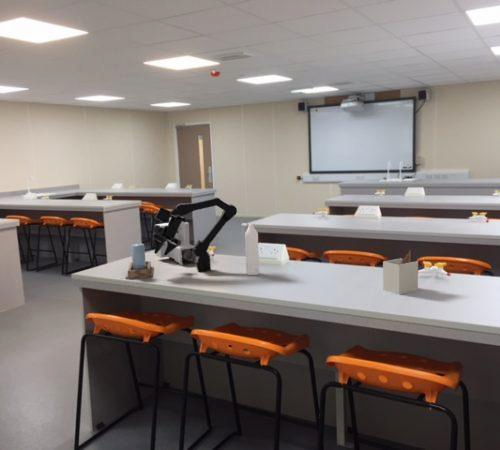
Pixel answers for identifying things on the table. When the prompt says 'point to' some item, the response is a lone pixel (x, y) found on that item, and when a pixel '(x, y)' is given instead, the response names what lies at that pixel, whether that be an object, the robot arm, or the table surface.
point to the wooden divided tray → (140, 271)
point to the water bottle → (251, 250)
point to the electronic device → (183, 250)
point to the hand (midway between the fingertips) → (160, 254)
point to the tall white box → (400, 275)
